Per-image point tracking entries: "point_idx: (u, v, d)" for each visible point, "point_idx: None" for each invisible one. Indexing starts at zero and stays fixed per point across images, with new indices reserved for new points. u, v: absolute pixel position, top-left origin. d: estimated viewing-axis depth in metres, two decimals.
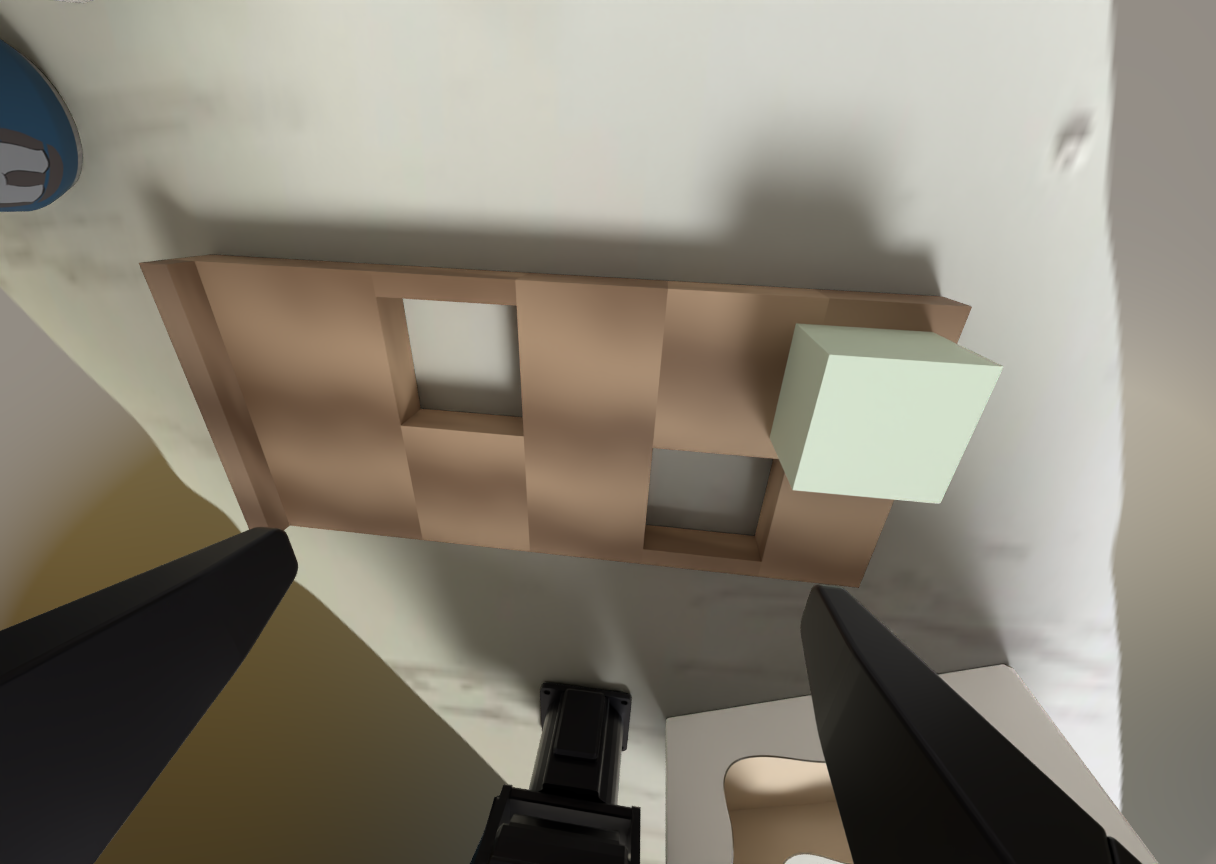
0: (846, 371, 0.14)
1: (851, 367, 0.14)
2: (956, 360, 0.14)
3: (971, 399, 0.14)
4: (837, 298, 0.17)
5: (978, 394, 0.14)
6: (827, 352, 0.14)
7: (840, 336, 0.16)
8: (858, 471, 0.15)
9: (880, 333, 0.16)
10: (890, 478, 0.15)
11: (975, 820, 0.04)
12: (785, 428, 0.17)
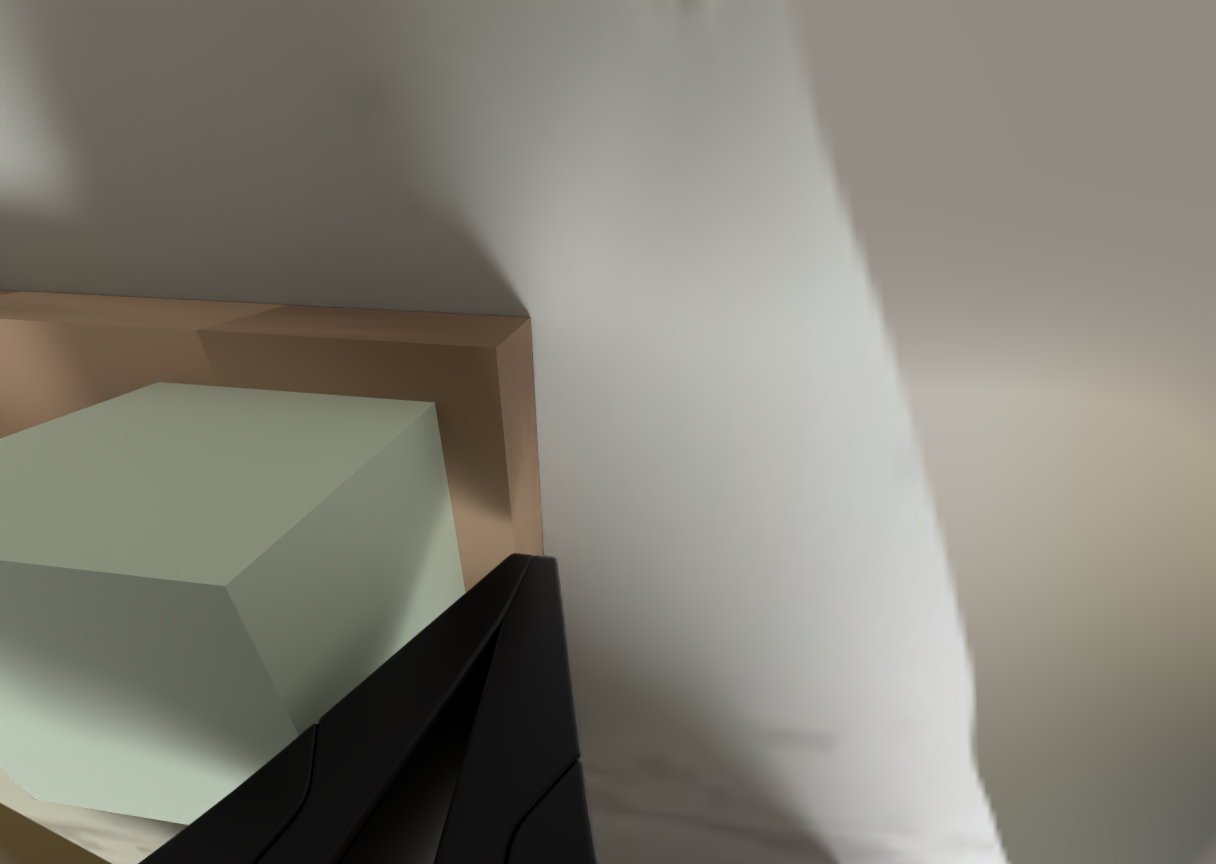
0: None
1: None
2: (151, 543, 0.04)
3: (222, 664, 0.04)
4: (221, 329, 0.07)
5: (227, 652, 0.04)
6: None
7: (117, 428, 0.06)
8: (125, 783, 0.06)
9: (274, 412, 0.07)
10: (205, 801, 0.06)
11: (471, 748, 0.04)
12: None
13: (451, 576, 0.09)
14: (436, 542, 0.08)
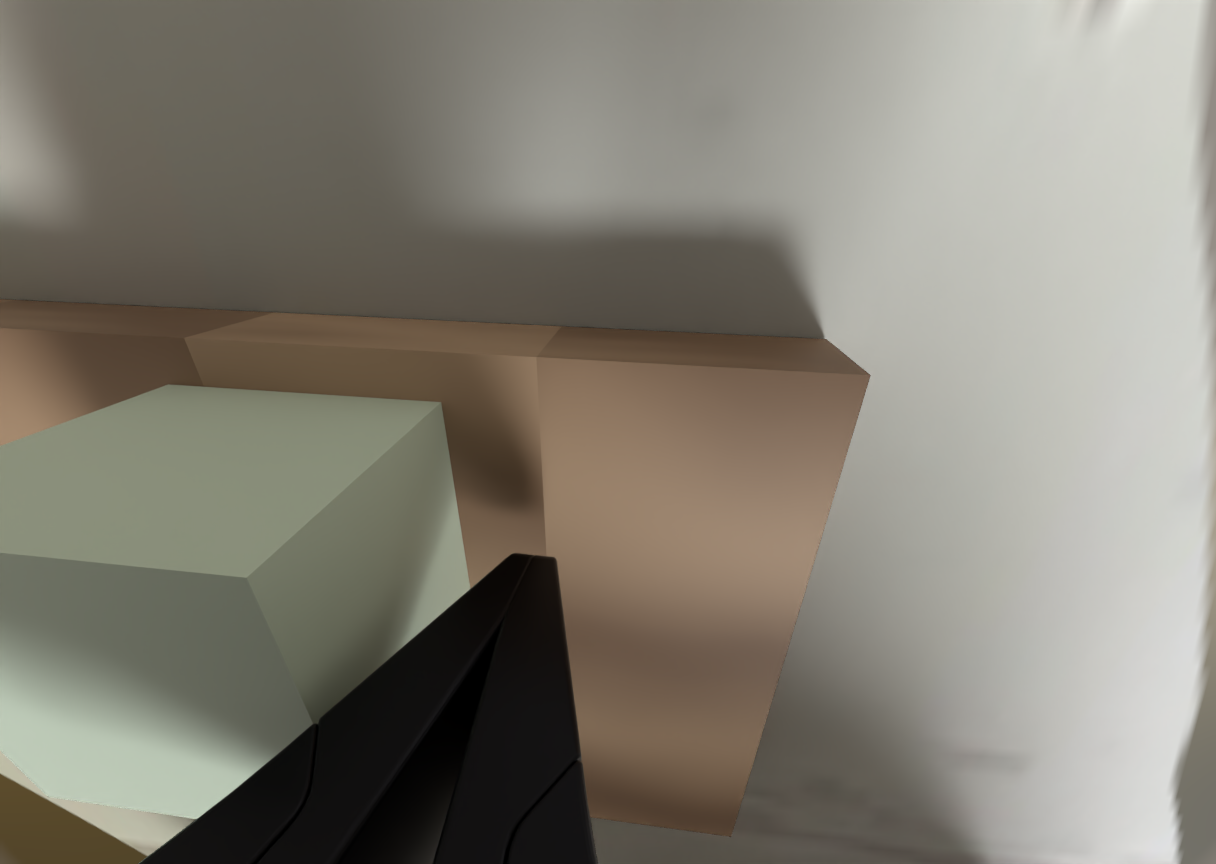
0: None
1: None
2: (171, 537, 0.04)
3: (241, 655, 0.05)
4: (558, 356, 0.07)
5: (246, 643, 0.04)
6: None
7: (130, 429, 0.06)
8: (140, 778, 0.06)
9: (284, 412, 0.07)
10: (219, 795, 0.06)
11: (471, 748, 0.04)
12: None
13: (457, 574, 0.09)
14: (443, 540, 0.08)
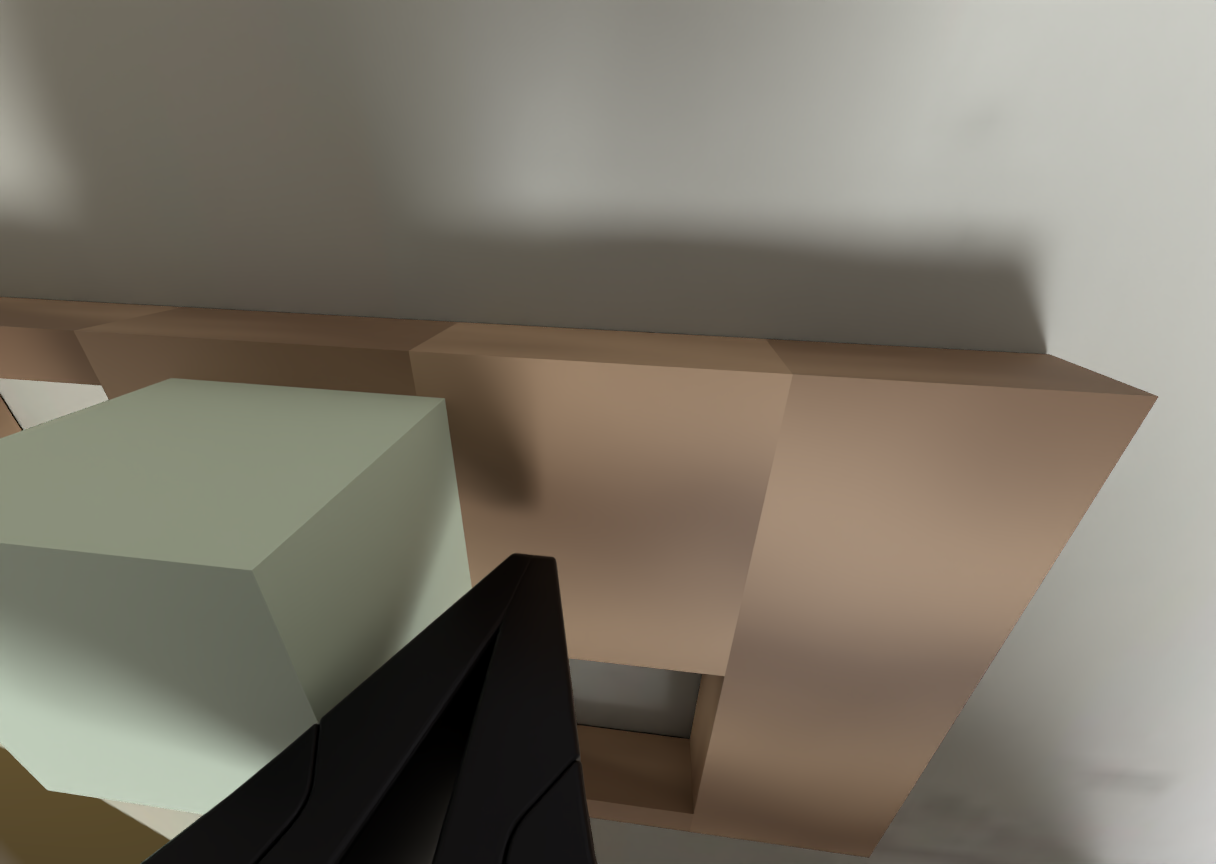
0: None
1: None
2: (176, 530, 0.04)
3: (245, 649, 0.05)
4: (812, 373, 0.07)
5: (250, 637, 0.04)
6: None
7: (133, 422, 0.06)
8: (141, 771, 0.06)
9: (287, 407, 0.07)
10: (220, 789, 0.06)
11: (470, 748, 0.04)
12: None
13: (459, 570, 0.09)
14: (445, 537, 0.08)
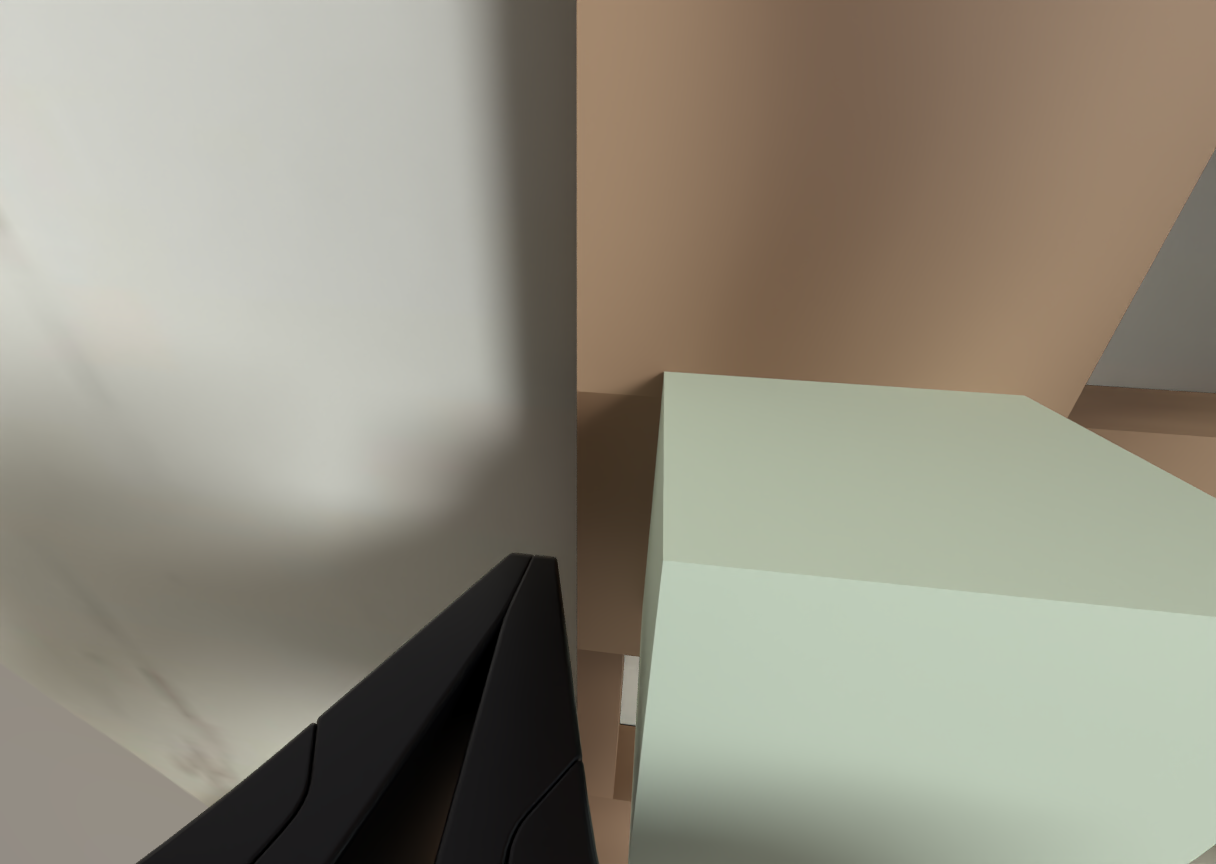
0: (673, 856, 0.05)
1: (661, 849, 0.05)
2: (652, 626, 0.04)
3: (811, 624, 0.03)
4: None
5: (787, 609, 0.03)
6: None
7: (642, 641, 0.07)
8: (1067, 849, 0.04)
9: (651, 522, 0.07)
10: (1153, 790, 0.04)
11: (471, 748, 0.04)
12: None
13: (922, 398, 0.06)
14: (847, 401, 0.06)
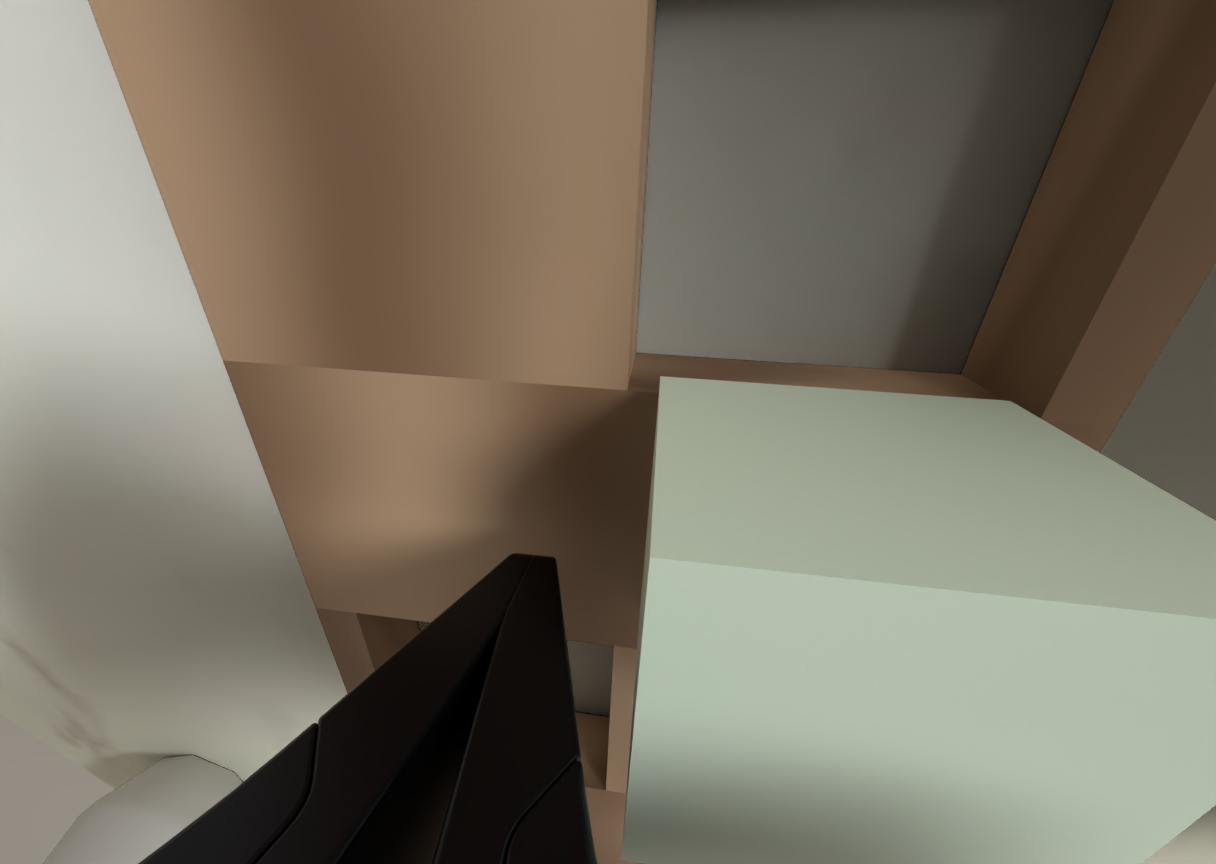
0: (664, 842, 0.05)
1: (653, 835, 0.05)
2: (643, 620, 0.04)
3: (790, 618, 0.04)
4: None
5: (767, 603, 0.03)
6: None
7: (638, 637, 0.07)
8: (1038, 837, 0.04)
9: None
10: (1118, 779, 0.04)
11: (470, 748, 0.04)
12: None
13: (909, 404, 0.06)
14: (836, 406, 0.06)
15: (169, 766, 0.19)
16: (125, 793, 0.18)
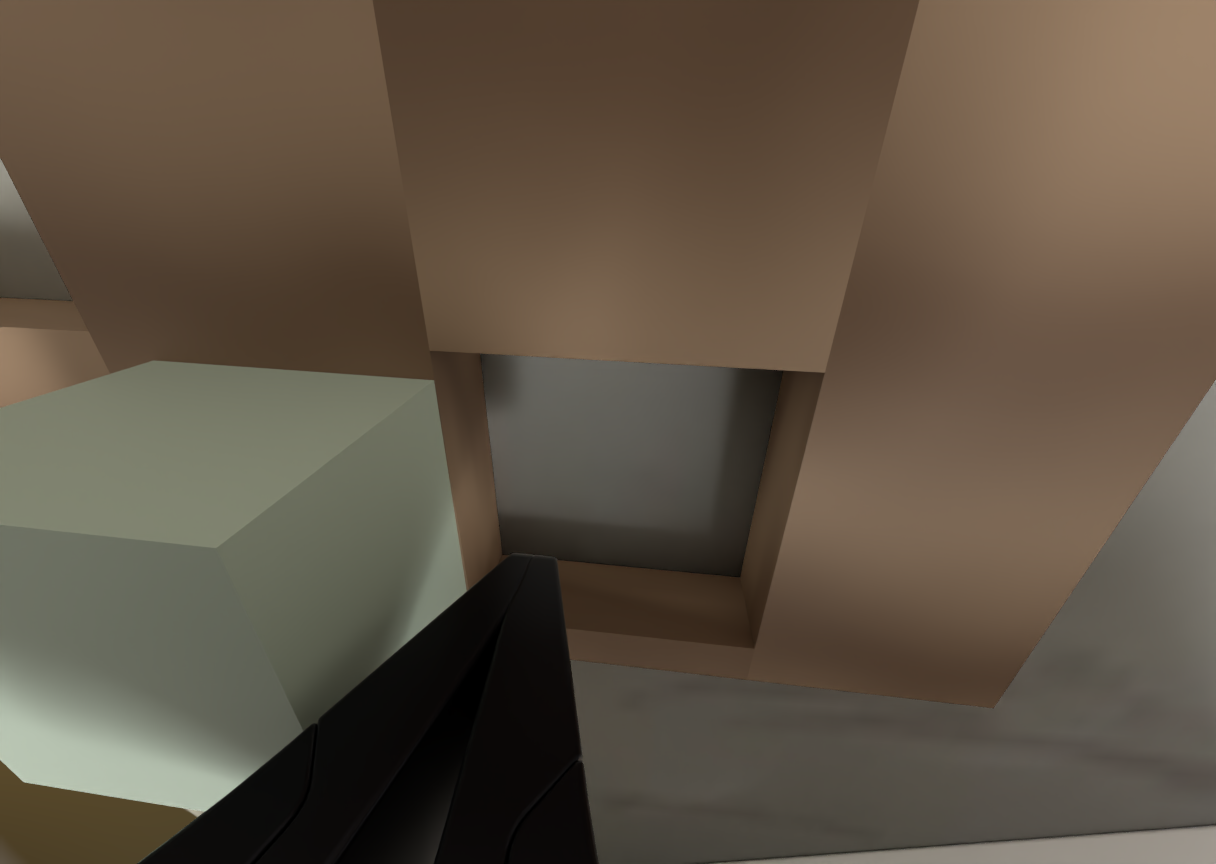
0: None
1: None
2: (140, 508, 0.04)
3: (216, 633, 0.04)
4: None
5: (219, 620, 0.04)
6: None
7: (109, 402, 0.06)
8: (116, 763, 0.06)
9: (270, 388, 0.07)
10: (198, 781, 0.06)
11: (472, 748, 0.04)
12: None
13: (450, 560, 0.09)
14: (435, 524, 0.08)
15: None
16: None
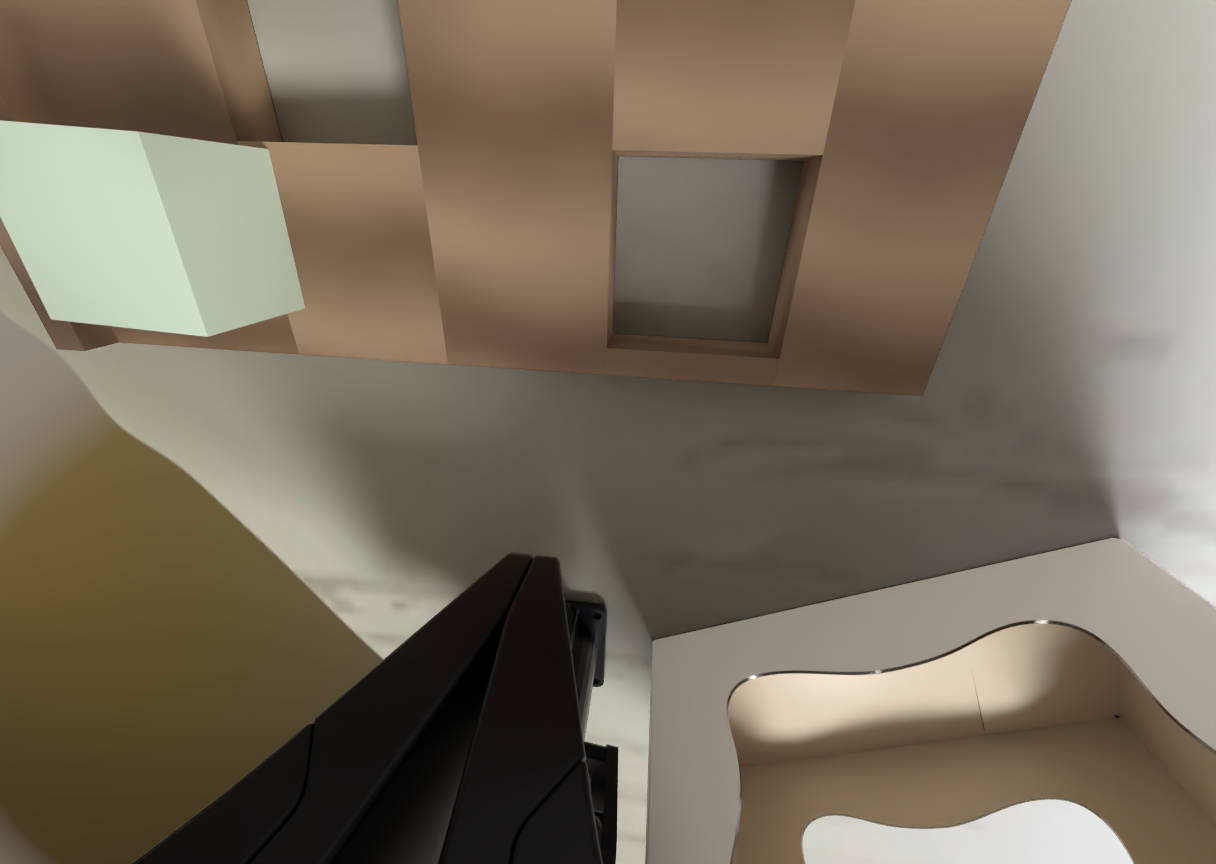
0: None
1: None
2: (112, 130, 0.11)
3: (139, 183, 0.11)
4: None
5: (140, 174, 0.11)
6: None
7: None
8: (97, 291, 0.13)
9: None
10: (135, 301, 0.13)
11: (474, 749, 0.04)
12: None
13: (286, 265, 0.16)
14: (271, 232, 0.15)
15: None
16: None
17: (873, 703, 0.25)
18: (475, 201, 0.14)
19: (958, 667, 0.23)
